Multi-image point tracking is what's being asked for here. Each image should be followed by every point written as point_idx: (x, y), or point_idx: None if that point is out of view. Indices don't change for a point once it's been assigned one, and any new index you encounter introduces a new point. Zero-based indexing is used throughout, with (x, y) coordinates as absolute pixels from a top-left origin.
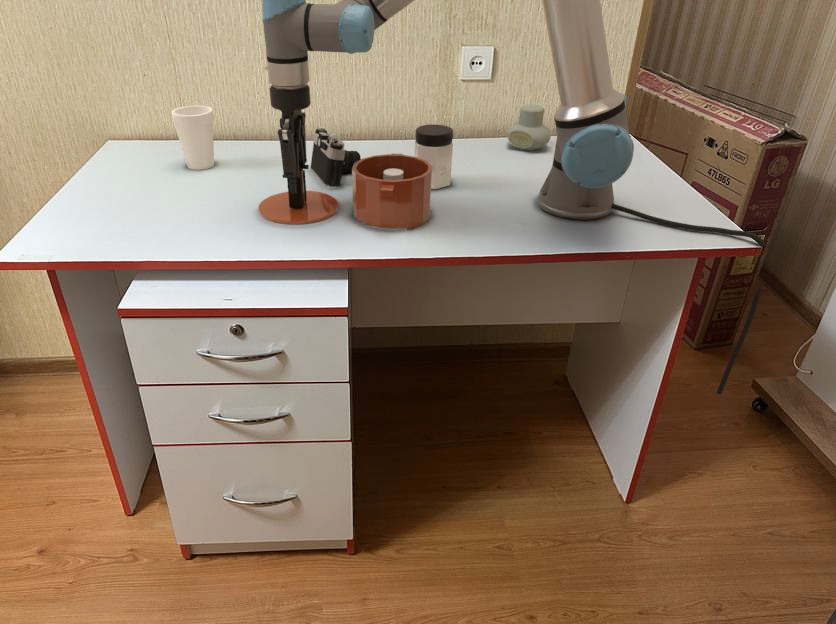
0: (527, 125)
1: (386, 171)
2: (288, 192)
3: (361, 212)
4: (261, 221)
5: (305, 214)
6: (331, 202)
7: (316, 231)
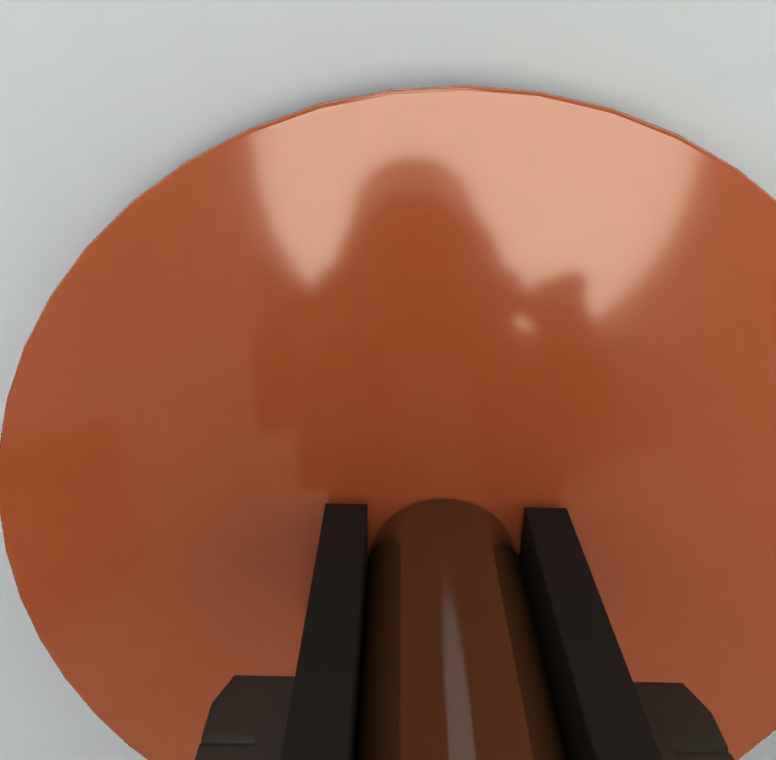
0: None
1: None
2: (302, 637)
3: None
4: (94, 200)
5: (212, 656)
6: None
7: (21, 717)
